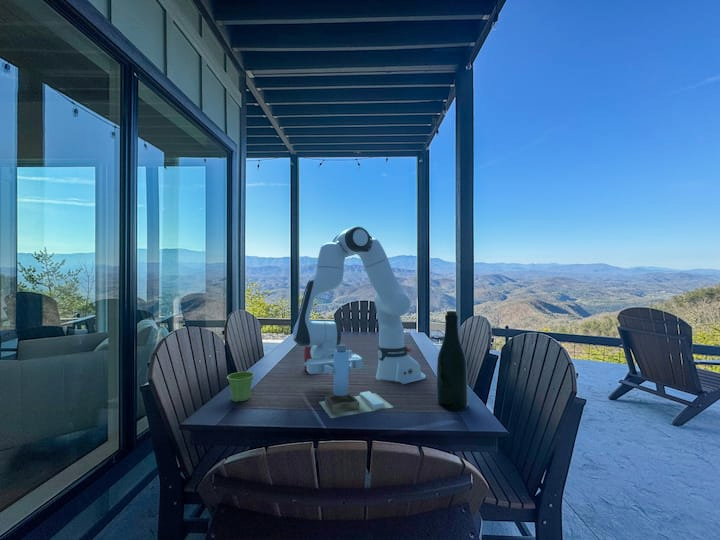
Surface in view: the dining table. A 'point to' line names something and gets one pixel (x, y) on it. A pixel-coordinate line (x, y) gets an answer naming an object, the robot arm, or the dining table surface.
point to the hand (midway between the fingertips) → (342, 370)
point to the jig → (348, 405)
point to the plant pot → (240, 385)
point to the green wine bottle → (452, 368)
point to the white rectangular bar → (372, 400)
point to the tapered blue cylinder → (341, 371)
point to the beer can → (307, 355)
